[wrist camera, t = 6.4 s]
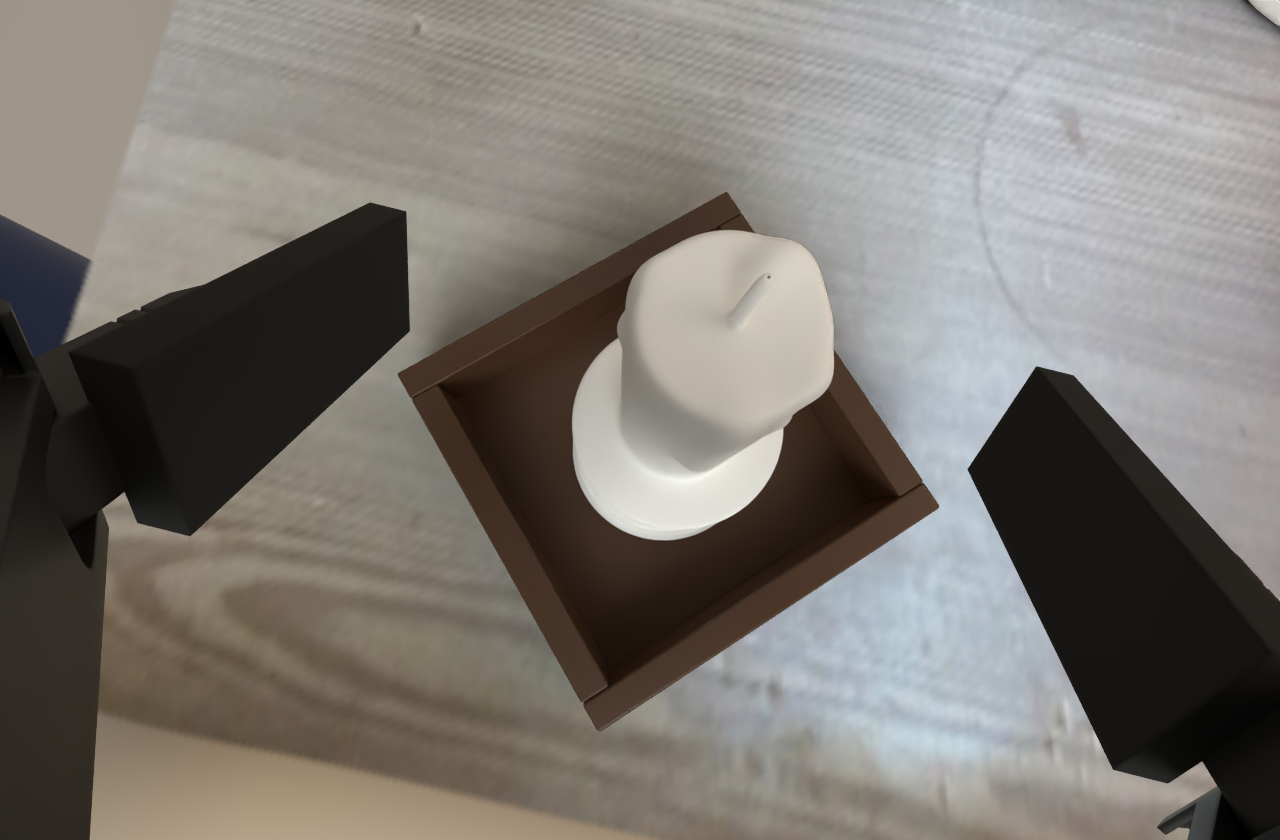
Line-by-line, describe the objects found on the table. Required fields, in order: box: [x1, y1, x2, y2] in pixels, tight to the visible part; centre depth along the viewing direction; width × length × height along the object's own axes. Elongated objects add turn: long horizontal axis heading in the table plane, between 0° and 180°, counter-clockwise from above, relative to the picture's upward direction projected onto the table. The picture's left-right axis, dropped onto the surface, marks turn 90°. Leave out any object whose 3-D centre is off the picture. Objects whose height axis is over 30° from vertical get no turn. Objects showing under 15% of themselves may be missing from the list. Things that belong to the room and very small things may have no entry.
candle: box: [572, 230, 834, 540], centre depth 12 cm, size 5×5×12 cm
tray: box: [398, 192, 939, 731], centre depth 17 cm, size 11×11×2 cm
